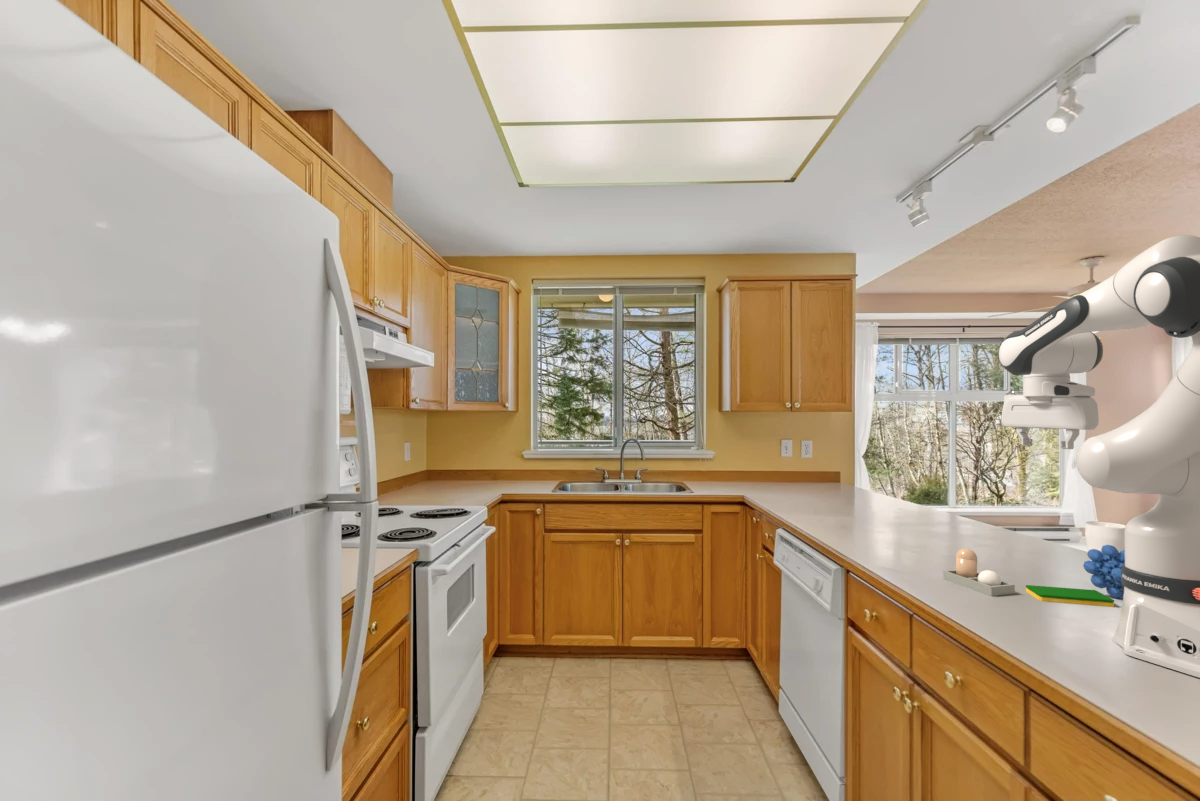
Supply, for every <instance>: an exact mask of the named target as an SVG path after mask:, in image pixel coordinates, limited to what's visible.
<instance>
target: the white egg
mask: <svg viewBox="0 0 1200 801" xmlns="http://www.w3.org/2000/svg"><path fill="white" fill-rule="evenodd" d="M978 573H979V575H978V582H980V583H983V584H986V585H989V586H998V585H1001V581H1002V579H1001V577H1000V575H999V574H998V573H997V572H995V571H994V570H989V569H986V570H985V569H984V570H981V571H980V572H978Z"/></svg>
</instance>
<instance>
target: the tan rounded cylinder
mask: <svg viewBox="0 0 1200 801" xmlns="http://www.w3.org/2000/svg"><path fill="white" fill-rule="evenodd" d="M955 570H956V575H959V576H962V577H965V578H974V577H977V573H978V556H977V554H976V552H975V551H974V550H972V549H970V548H967V547H966V548H964V547H963V548H960V549H958V550H957V552H956V555H955Z"/></svg>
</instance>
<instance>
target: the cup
mask: <svg viewBox="0 0 1200 801" xmlns="http://www.w3.org/2000/svg"><path fill="white" fill-rule="evenodd" d="M1126 525H1127V524H1126ZM1126 525H1125V524H1121V523H1114V522H1108V521H1107V522H1106V521H1105V522H1104V521H1094V520H1093V521H1086V522H1085V527H1084V537H1085V542H1086V547H1087V552H1088V551H1089V550H1091V549H1096V550H1099V551H1101V549H1102V547H1103V546H1105V545H1111V546H1114V547H1115V548H1116V549H1117V550H1118V552H1119V553H1120V551H1123V550H1125V542H1124V530H1125V527H1126ZM1101 552H1102V551H1101ZM1088 558H1089V557H1088ZM1089 560H1090V561H1092V560H1091V559H1090V558H1089Z"/></svg>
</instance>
